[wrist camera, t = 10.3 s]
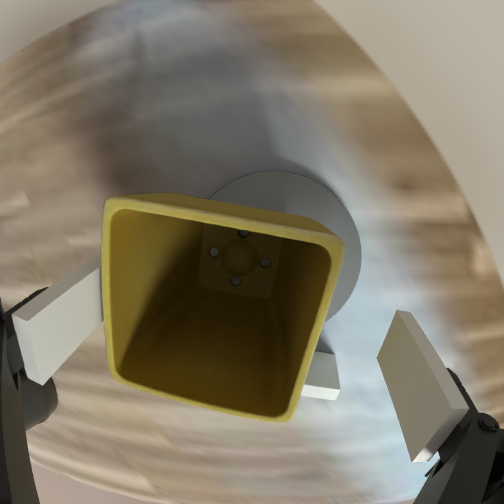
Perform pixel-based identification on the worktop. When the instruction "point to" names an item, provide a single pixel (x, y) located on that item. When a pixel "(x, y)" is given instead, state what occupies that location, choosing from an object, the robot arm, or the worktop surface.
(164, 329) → the flower pot
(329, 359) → the wall
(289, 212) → the coaster
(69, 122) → the worktop surface
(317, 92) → the worktop surface
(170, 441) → the worktop surface
